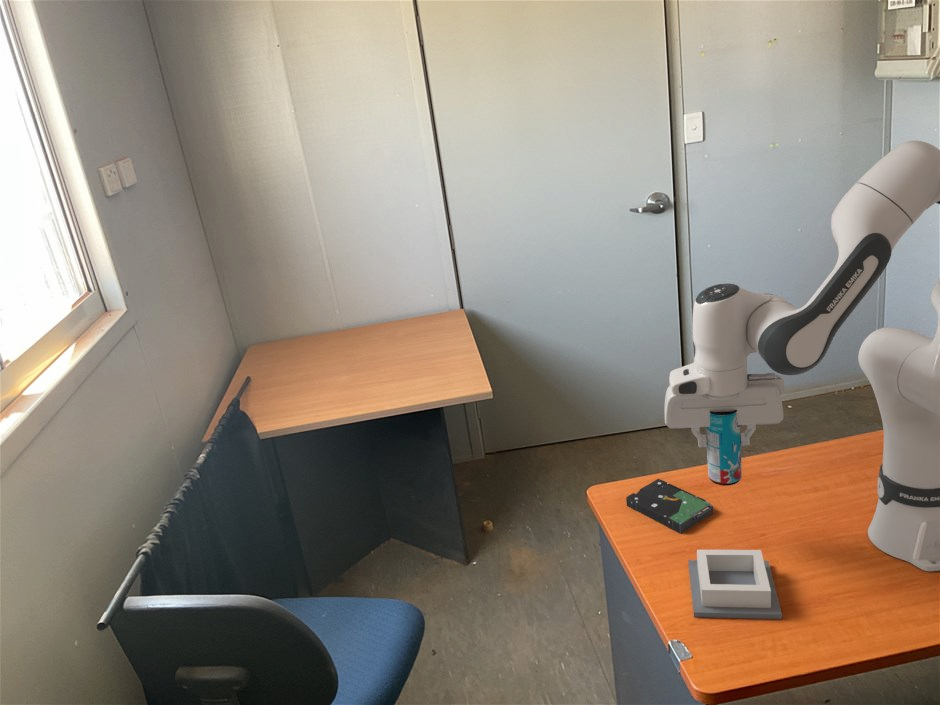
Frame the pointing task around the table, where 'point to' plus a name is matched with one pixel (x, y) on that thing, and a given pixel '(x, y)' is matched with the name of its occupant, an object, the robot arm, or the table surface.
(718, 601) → the can holder
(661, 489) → the disk drive
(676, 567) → the table surface
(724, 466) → the beverage can
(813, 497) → the table surface
